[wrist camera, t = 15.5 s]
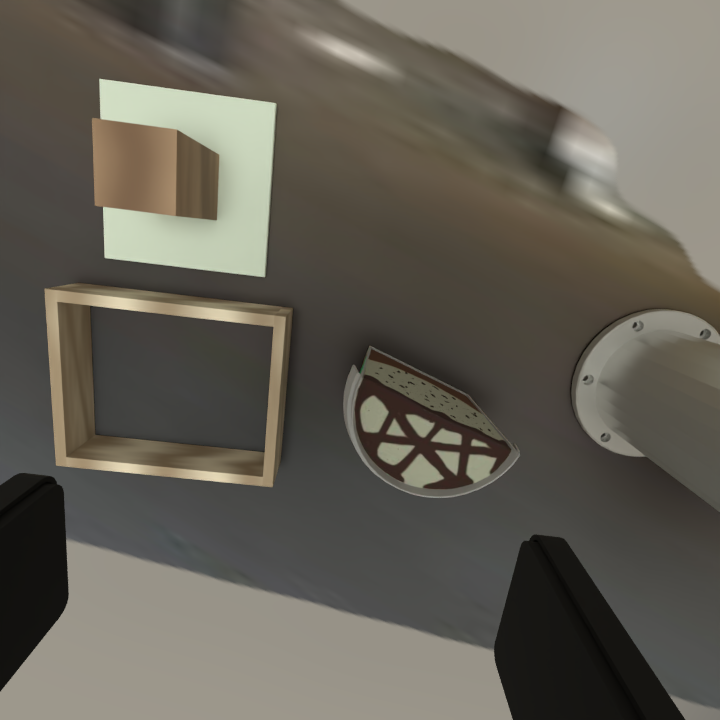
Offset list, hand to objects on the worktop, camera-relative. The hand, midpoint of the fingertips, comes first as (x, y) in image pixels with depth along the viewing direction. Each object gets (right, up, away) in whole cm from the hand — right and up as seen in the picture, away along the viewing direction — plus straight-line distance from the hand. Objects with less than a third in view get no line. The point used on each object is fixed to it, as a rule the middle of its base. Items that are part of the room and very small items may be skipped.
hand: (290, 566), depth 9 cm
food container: (+5, +1, +29) cm, 29 cm away
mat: (-11, +17, +24) cm, 31 cm away
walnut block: (-11, +17, +23) cm, 31 cm away
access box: (-13, +3, +28) cm, 31 cm away
